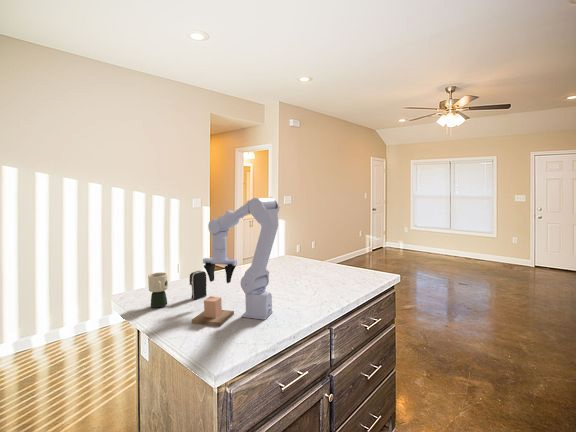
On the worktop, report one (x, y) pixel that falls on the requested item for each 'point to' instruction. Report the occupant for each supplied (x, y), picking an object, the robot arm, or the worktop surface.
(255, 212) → the robot arm
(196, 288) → the battery charger
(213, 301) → the terracotta block
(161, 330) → the worktop surface
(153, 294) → the character mug
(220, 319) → the walnut board
